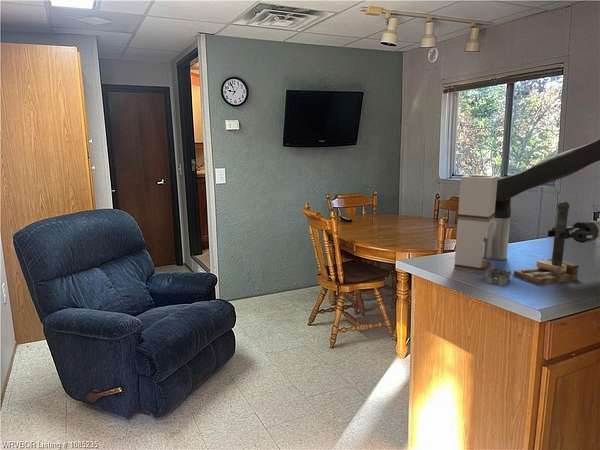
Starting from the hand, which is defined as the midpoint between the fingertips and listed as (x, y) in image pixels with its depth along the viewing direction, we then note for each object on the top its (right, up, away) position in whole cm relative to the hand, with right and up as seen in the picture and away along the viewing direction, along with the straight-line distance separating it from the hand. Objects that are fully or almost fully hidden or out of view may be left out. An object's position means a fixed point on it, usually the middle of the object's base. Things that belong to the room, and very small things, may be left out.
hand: (554, 234), depth 155 cm
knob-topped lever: (+2, -12, +5) cm, 13 cm away
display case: (-22, -13, +16) cm, 31 cm away
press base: (-1, -15, +5) cm, 16 cm away
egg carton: (-19, -16, +2) cm, 25 cm away
